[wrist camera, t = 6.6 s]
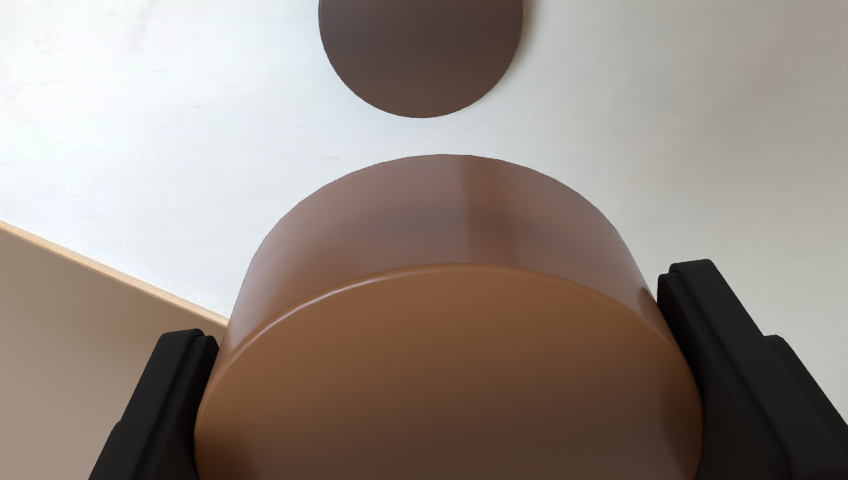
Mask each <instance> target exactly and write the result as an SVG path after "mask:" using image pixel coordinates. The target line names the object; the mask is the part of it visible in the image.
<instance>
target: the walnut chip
mask: <svg viewBox="0 0 848 480" xmlns="http://www.w3.org/2000/svg"><path fill="white" fill-rule="evenodd" d="M318 19H319V29H320V35H321V40H322V43H323V46H324V50H325V52H326V55H327V57H328V59H329V61H330V63H331V65H332V67H333V68H334V70H335V72H336V73H337V75H338V76H339V77H340V79H341V80H342V81H343V82H344V84H345V85H346V86H347V87H348V88H349V89H350V90H351V91H352V92H353V93H354V94H356V95H357V96H358V97H360V98H361V99H362V100H364V101H365V102H367V103H369V104H370V105H372V106H374V107H376V108H378V109H380V110H383V111H385V112H387V113H391V114H394V115H398V116H404V117H410V118H430V117H438V116H443V115H447V114H450V113H453V112H456V111H459V110H461V109H463V108H465V107H467V106H469V105H471V104H473V103H474V102H476V101H477V100H479V99H480V98H482V97H483V96H484V95H485V94H487V93H488V92H489V91H490V90H491V89H492V88H493V87H494V86H495V85H496V84H497V83H498V82H499V81H500V79H501V78H502V77H503V75H504V74H505V72H506V71H507V70H508V68H509V66H510V64H511V62H512V60H513V58H514V56H515V54H516V51H517V48H518V46H519V42H520V38H521V34H522V28H523V19H524V13H523V0H319V7H318Z"/></svg>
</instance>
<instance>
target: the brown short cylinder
mask: <svg viewBox="0 0 848 480" xmlns="http://www.w3.org/2000/svg"><path fill="white" fill-rule="evenodd" d="M704 429H705V416H704V408H703V403H702V398H701V393H700V391H699V388H698V386H697V383H696V381H695V378H694V376H693V374H692V371H691V369H690V367H689V365H688V363H687V361H686V359H685V357H684V355H683V353H682V352H681V350H680V348H679V346H678V344H677V342H676V340H675V338H674V336H673V334H672V332H671V330H670V328H669V326H668V324H667V322H666V320H665V319H664V317H663V315H662V313H661V311H660V309H659V307H658V305H657V303H656V301H655V299H654V297H653V295H652V293H651V291H650V289H649V287H648V286H647V284H646V282H645V280H644V278H643V276H642V274H641V272H640V270H639V268H638V266H637V264H636V262H635V260H634V258H633V256H632V254H631V253H630V251H629V249H628V247H627V245H626V244H625V242H624V241H623V239H622V238H621V236H620V234H619V233H618V231H617V230H616V228H615V227H614V226H613V225H612V224H611V223H610V222H609V220H608V219H607V218H606V217H605V216H604V215H603V214H602V213H601V212H600V210H598V209H597V208H596V207H595V206H594V205H592V204H591V203H590V202H589V201H588V200H586V199H585V198H584V197H583V196H581V195H580V194H579V193H577V192H576V191H574V190H572V189H571V188H569V187H567V186H566V185H564V184H562V183H561V182H559V181H557V180H556V179H554V178H551V177H549V176H547V175H544V174H542V173H540V172H537V171H535V170H533V169H530V168H527V167H524V166H520V165H517V164H513V163H510V162H506V161H503V160H498V159H492V158H485V157H479V156H473V155H451V154H435V155H424V156H413V157H406V158H401V159H396V160H392V161H387V162H382V163H378V164H375V165H372V166H369V167H366V168H363V169H361V170H358V171H355V172H352V173H349V174H347V175H345V176H343V177H341V178H339V179H337V180H335V181H333V182H331V183H329V184H327V185H325V186H323V187H322V188H320V189H319V190H317V191H316V192H314V193H313V194H311V195H310V196H308V197H307V198H305V199H304V200H302V201H301V202H299V203H298V204H297V205H296V206H295V207H294V208H293V209H292V210H290V211H289V212H288V213H287V214H286V215H285V216H284V217H283V218H281V219H280V220H279V222H278V223H277V224H276V225H275V226H274V228H273V229H272V230H271V231H270V232H269V234H268V235H267V236H266V237H265V238H264V240H263V242H262V243H261V245H260V247H259V248H258V250H257V252H256V253H255V255H254V257H253V258H252V260H251V263H250V265H249V268H248V270H247V273H246V275H245V278H244V280H243V283H242V286H241V289H240V292H239V294H238V297H237V300H236V303H235V306H234V309H233V312H232V314H231V317H230V320H229V323H228V326H227V329H226V332H225V335H224V337H223V340H222V343H221V346H220V349H219V351H218V354H217V357H216V360H215V363H214V366H213V369H212V371H211V374H210V377H209V380H208V383H207V386H206V388H205V391H204V394H203V397H202V400H201V403H200V406H199V408H198V413H197V418H196V424H195V429H194V459H195V464H196V469H197V474H198V479H199V480H695V478H696V475H697V473H698V470H699V467H700V464H701V458H702V450H703V441H704Z"/></svg>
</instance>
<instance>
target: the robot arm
mask: <svg viewBox="0 0 848 480" xmlns="http://www.w3.org/2000/svg"><path fill="white" fill-rule="evenodd" d="M657 305H658V307H659V309H660V311H661V313H662V315H663V317H664V319H665V320H666V322H667V324H668V326H669V328H670V330H671V332H672V334H673V336H674V338H675V340H676V342H677V344H678V346H679V348H680V350H681V352H682V353H683V355H684V357H685V359H686V361H687V363H688V365H689V367H690V369H691V371H692V374H693V376H694V378H695V381H696V383H697V386H698V388H699V391H700V393H701V398H702V403H703V408H704V416H705V429H704V441H703V450H702V458H701V464H700V467H699V470H698V473H697V475H696V478H695V480H848V425H847V424H846V422H845V421H844V420H843V418H842V417H841V416H840V414H839V413H838V411H837V410H836V409H835V407H834V406H833V405H832V403H831V402H830V400H829V399H828V398H827V396H826V395H825V394H824V392H823V391H822V389H821V388H820V387H819V385H818V384H817V383H816V381H815V380H814V378H813V377H812V376H811V374H810V373H809V372H808V370H807V369H806V367H805V366H804V365H803V363H802V362H801V361H800V359H799V358H798V356H797V355H796V354H795V352H794V351H793V350H792V348H791V347H790V345H789V344H788V343H787V342H786V341H785V340H784V339H783V338H782V337H780V336H778V335H769V336H763V334H762V333H761V331H760V330H759V328H758V327H757V325H756V324H755V323H754V321H753V320H752V318H751V317H750V315H749V314H748V312H747V311H746V310H745V308H744V307H743V305H742V304H741V302H740V301H739V299H738V298H737V297H736V295H735V294H734V292H733V291H732V289H731V288H730V286H729V285H728V284H727V282H726V281H725V279H724V278H723V276H722V275H721V273H720V272H719V270H718V269H717V268H716V266H715V265H714V263H713V262H712V261H711V260H709V259H702V260H695V261H688V262H680V263H673V264H671V266H670V268H669V273H667V274H661V275H659V278H658V288H657ZM218 351H219V347H218V344H217V342H216V340H215V338H214V337H213V336H205V335H204V333H203V332H202V331H201V330H200V329H197V328H196V329H189V330H181V331H174V332H167V333H164V334H162V335H161V337H160V338H159V340H158V342H157V344H156V346H155V348H154V350H153V353H152V355H151V357H150V359H149V361H148V363H147V365H146V367H145V370H144V372H143V374H142V376H141V378H140V380H139V382H138V384H137V386H136V388H135V391H134V393H133V395H132V397H131V399H130V401H129V403H128V405H127V407H126V410H125V412H124V414H123V416H122V418H121V420H120V421H119V422H118V423H117V424H116V425H115V426H114V428H113V430H112V431H111V433H110V435H109V437H108V439H107V441H106V443H105V446H104V448H103V450H102V452H101V454H100V456H99V458H98V460H97V462H96V464H95V466H94V468H93V470H92V472H91V475H90V477H89V479H88V480H199V479H198V474H197V469H196V464H195V459H194V429H195V424H196V418H197V413H198V408H199V406H200V403H201V400H202V397H203V394H204V391H205V388H206V386H207V383H208V380H209V377H210V374H211V371H212V369H213V366H214V363H215V360H216V357H217V354H218Z"/></svg>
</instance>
